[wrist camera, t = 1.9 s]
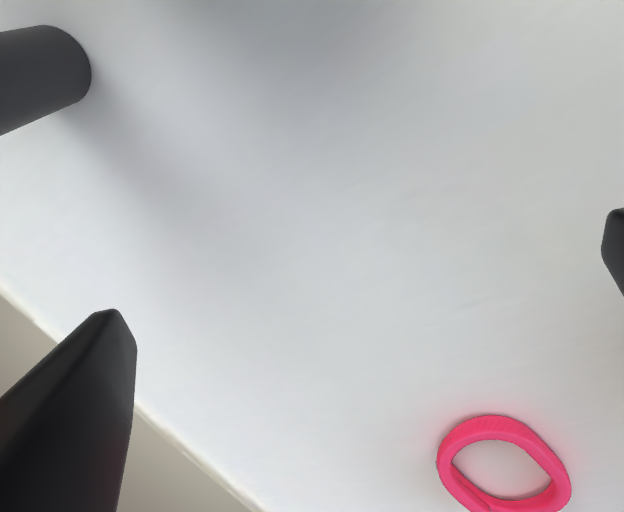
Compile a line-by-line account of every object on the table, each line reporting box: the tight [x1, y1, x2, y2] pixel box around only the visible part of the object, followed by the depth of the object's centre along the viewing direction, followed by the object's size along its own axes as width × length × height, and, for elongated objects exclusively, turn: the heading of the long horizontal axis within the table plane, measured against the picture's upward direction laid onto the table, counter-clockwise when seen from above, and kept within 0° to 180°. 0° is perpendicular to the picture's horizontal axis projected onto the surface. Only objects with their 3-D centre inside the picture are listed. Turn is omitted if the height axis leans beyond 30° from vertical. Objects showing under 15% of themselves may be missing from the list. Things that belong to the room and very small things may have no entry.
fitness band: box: [436, 415, 571, 512], centre depth 27 cm, size 8×6×2 cm
